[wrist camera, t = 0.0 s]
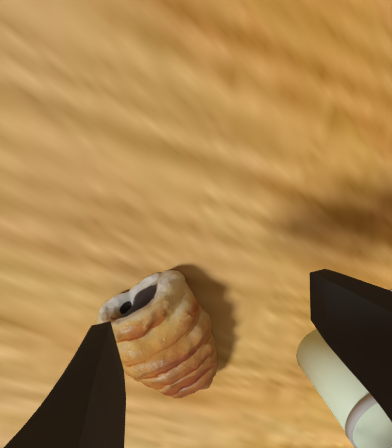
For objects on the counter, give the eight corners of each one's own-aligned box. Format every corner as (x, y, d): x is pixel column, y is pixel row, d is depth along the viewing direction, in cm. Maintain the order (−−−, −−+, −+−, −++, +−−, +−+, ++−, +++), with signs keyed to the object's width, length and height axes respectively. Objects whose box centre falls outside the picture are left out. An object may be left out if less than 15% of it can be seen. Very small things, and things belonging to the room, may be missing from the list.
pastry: (233, 350, 26) (251, 389, 22) (156, 396, 26) (162, 442, 22) (173, 255, 22) (183, 284, 19) (83, 308, 22) (75, 347, 18)
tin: (347, 364, 28) (414, 440, 22) (296, 379, 28) (350, 462, 21) (348, 318, 27) (421, 386, 20) (294, 333, 26) (351, 408, 20)
